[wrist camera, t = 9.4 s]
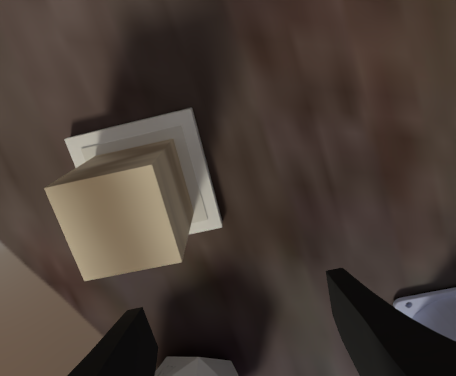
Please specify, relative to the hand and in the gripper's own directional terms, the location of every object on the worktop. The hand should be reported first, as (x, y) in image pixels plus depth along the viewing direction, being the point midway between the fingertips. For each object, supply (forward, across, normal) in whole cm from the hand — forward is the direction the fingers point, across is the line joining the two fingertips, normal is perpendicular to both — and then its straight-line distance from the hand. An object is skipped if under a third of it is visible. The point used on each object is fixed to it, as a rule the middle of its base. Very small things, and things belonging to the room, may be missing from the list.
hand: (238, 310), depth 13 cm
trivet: (+10, +5, -3) cm, 12 cm away
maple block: (+10, +5, -3) cm, 11 cm away
